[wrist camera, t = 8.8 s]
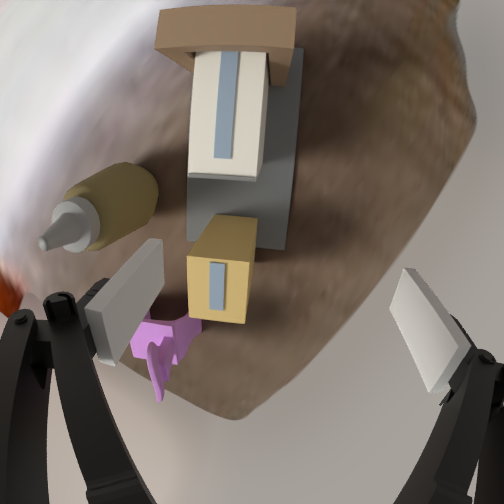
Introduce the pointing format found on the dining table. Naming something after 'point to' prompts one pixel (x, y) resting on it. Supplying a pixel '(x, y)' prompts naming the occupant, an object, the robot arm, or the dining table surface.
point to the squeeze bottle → (102, 209)
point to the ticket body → (228, 79)
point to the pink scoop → (163, 345)
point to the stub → (222, 269)
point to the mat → (269, 178)
